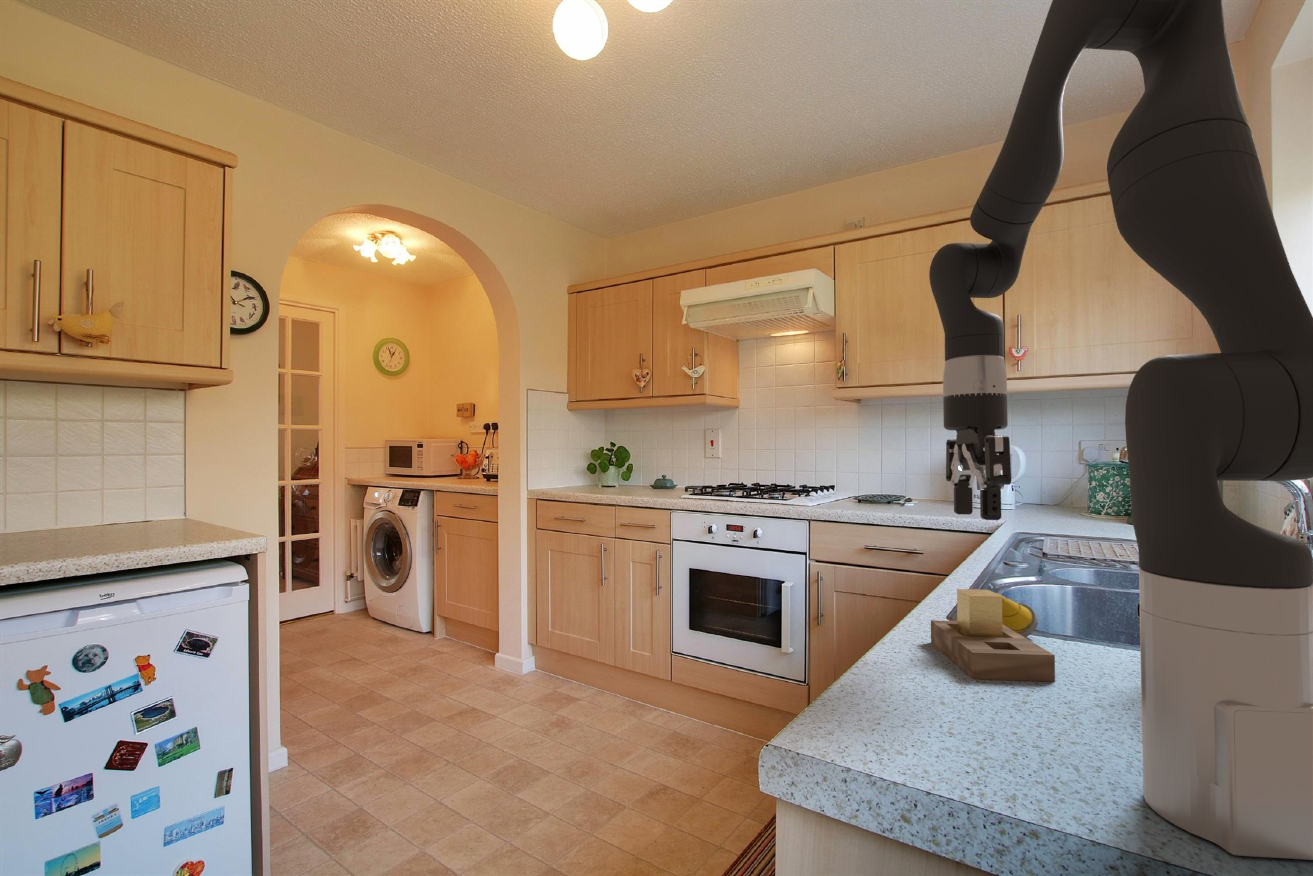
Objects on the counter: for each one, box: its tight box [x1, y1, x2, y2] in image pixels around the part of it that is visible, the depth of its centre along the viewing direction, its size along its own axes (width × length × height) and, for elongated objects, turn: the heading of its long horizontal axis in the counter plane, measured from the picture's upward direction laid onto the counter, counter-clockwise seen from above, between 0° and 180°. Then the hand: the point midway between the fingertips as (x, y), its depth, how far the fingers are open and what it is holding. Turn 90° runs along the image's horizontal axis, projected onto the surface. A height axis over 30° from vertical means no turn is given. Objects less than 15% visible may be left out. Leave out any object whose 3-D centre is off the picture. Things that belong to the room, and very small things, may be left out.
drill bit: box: [995, 592, 1039, 638], centre depth 87 cm, size 5×5×10 cm
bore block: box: [930, 619, 1056, 683], centre depth 78 cm, size 14×9×3 cm, turn 175°
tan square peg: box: [956, 588, 1003, 638], centre depth 80 cm, size 4×4×8 cm
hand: (976, 516), depth 81 cm, fingers open, 8 cm apart
